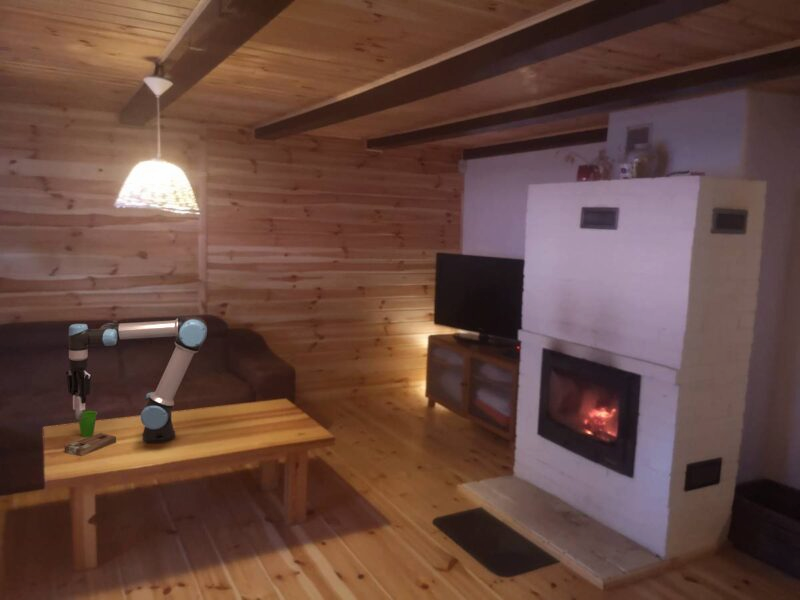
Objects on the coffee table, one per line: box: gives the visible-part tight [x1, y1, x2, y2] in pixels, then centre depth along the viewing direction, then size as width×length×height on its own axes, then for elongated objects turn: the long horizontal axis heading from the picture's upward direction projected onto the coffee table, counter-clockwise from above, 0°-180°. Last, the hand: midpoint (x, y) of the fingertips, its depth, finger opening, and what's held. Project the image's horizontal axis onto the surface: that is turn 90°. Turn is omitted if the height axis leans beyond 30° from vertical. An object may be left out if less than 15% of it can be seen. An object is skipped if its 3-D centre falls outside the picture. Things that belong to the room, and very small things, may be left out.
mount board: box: [63, 432, 117, 457], centre depth 293 cm, size 10×20×3 cm, turn 158°
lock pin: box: [74, 390, 84, 420], centre depth 285 cm, size 3×3×12 cm
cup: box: [77, 410, 98, 438], centre depth 308 cm, size 9×9×11 cm
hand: (79, 409), depth 285 cm, fingers closed on lock pin, 3 cm apart
